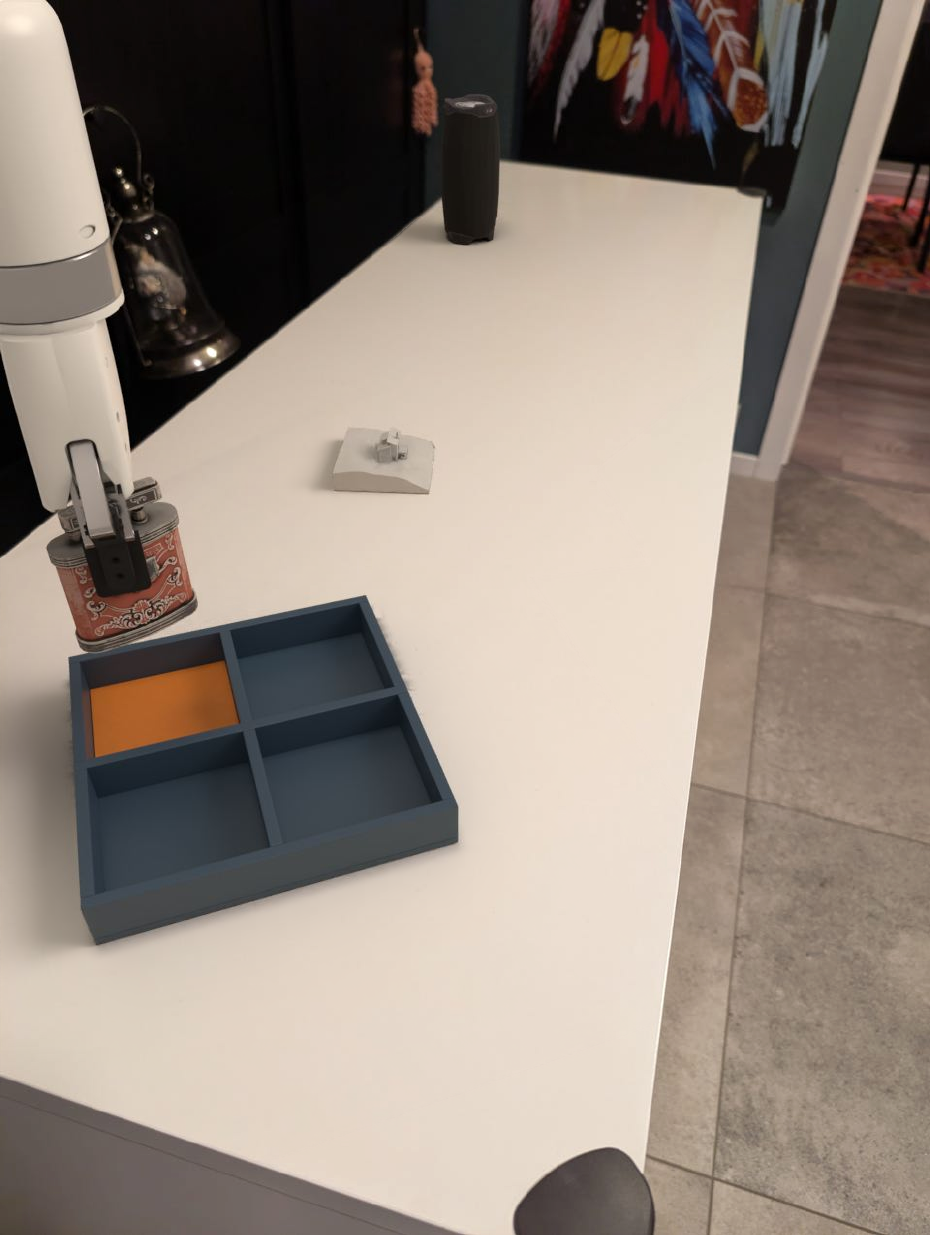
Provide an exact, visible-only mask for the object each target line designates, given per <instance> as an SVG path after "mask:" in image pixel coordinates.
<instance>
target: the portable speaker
mask: <svg viewBox="0 0 930 1235" xmlns="http://www.w3.org/2000/svg"><path fill="white" fill-rule="evenodd" d="M498 110H499V109H498V103H497V102H495V101H494V100H493V98H492V97H491V96H490V95H486V94H483V93H482V94H480V93H473V94H472V93H471V94H466V95H464V96H460V97H456V98H451V97H446V98H444V104H443V111H444V112H443V121H442V127H441V128H442V129H441V136H440V137H441V138H440V197H441V206H442V207H441V208H442V216H443V227H444V228H443V229H444V231H445V234H446V237H447V240H448V241H450V242H452V243H454V244H459V245H465V246H466V245H467V246H469V245H470V244H472V242H473V241H474V240H479V239H484V238H485V239H486V240H487V241H493V240H494V238H495V230H496V229H495V227H496V223H497V218H498V210H499V196H500V195H499V194H500V167H501V166H500V165H501V163H500V162H501V135H500V122H499V121H500V120H499V111H498Z"/></svg>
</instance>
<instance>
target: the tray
mask: <svg viewBox="0 0 930 1235" xmlns="http://www.w3.org/2000/svg"><path fill="white" fill-rule="evenodd" d="M67 661H68V677H69V678H68V679H69V696H70V697H69V700H70V718H71V720H70V721H71V737H72V738H71V739H72V759H73V776H74V777H73V781H74V782H73V783H74V798H75V799H74V800H75V802H74V803H75V820H76V842H77V860H78V862H77V863H78V880H79V881H78V882H79V883H78V884H79V901H80V902H79V903H80V912H81V914H82V917H83V919H84V921H85V923H86V925H87V927H88V930H89V932H90V934H91V937H92V939H93V941H94V944H95V945H96V946H97V945H98V946H99V945H102V944H105V943H108V942H111V941H116V940H119V939H123V938H127V937H130V936H133V935H137V934H140V933H144V932H147V931H151V930H155V929H159V928H161V927H165V926H168V925H171V924H175V923H180V922H183V921H185V920H189V919H194V918H197V917H200V916H203V915H207V914H211V913H214V912H218V911H222V910H225V909H227V908H232V907H235V906H238V905H242V904H245V903H249V902H253V901H256V900H260V899H263V898H268V897H270V896H274V895H277V894H281V893H284V892H288V891H291V890H295V889H298V888H301V887H302V888H303V887H305V886H309V885H312V884H316V883H319V882H322V881H327V880H330V879H334V878H337V877H341V876H344V875H348V874H352V873H355V872H358V871H362V870H365V869H369V868H373V867H376V866H379V865H384V864H387V863H389V862H390V863H391V862H393V861H397V860H401V859H404V858H407V857H411V856H415V855H418V854H422V853H426V852H428V851H432V850H435V849H439V848H443V847H447V846H449V845H454V844H457V843H459V804H458V802H457V800H456V798H455V795H454V792H453V791H452V789H451V788H452V787H451V786H450V784H449V782H448V778H447V777H446V774H445V773H444V770H443V767H442V765H441V763H440V761H439V759H438V756H437V754H436V752H435V749H434V747H433V745H432V743H431V740H430V738H429V736H428V733H427V731H426V729H425V727H424V724H423V722H422V720H421V718H420V715H419V713H418V711H417V708H416V706H415V703H414V701H413V699H412V697H411V695H410V692H409V690H408V688H407V686H406V683H405V681H404V678H403V676H402V674H401V672H400V669H399V668H398V665H397V662H396V661H395V657H394V655H393V653H392V651H391V648H390V647H389V644H388V643H387V640H386V637H385V635H384V633H383V630H382V628H381V626H380V624H379V621H378V619H377V617H376V615H375V612H374V610H373V607H372V605H371V603H370V602H369V599H368V596H367V595H366V594H364V595H359V596H355V597H354V596H353V597H349V598H345V599H344V598H343V599H340V600H336V601H330V602H325V603H320V604H315V605H312V606H311V605H310V606H307V607H306V606H305V607H301V608H297V609H292V610H288V611H287V610H286V611H282V612H278V613H272V614H268V615H263V616H258V617H253V618H248V619H244V620H239V621H234V622H229V623H225V624H220V625H215V626H210V627H205V628H201V629H196V630H195V629H194V630H190V631H186V632H181V633H176V634H172V635H167V636H162V637H158V638H157V637H156V638H153V639H147V640H143V641H137V642H133V643H130V644H128V645H125V646H122V647H118V648H115V649H112V650H108V651H105V652H101V653H88V652H85V653H81V654H76V655H71V656H68V658H67Z"/></svg>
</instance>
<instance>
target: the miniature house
mask: <svg viewBox="0 0 930 1235" xmlns="http://www.w3.org/2000/svg"><path fill="white" fill-rule="evenodd" d="M401 433H402V430H400V429H397V428H395V427H392V426H390V427H389V430H388V431H385V430H381V429H375V428H367V427H353V426H352V427H351V426H348V427H347V429H346V431H345V434H344V437H343V440H342V444H341V447H340V449H339V453H338V455H337V458H336V461H335V465H334V468H333V470H332V474H331V475H332V483H333V490H334V491H340V492H341V491H342V492H343V491H344V492H345V491H346V492H370V493H371V492H373V493H374V492H375V493H377V492H378V493H398V494H399V493H402V494H430V489H431V484H432V479H433V478H432V477H433V465H434V464H433V462H435V461H434V460H435V449H436V447H435V445H434V442H433V441H432V440H429V439H425V438H420V437H417V436H414V435H409V434H408V435H407V434H401Z"/></svg>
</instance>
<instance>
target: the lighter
mask: <svg viewBox="0 0 930 1235" xmlns="http://www.w3.org/2000/svg"><path fill="white" fill-rule="evenodd" d="M133 485H134V491H133V493H132V494H131V496H130V497H129V498H128V499H126V503H127V507H128V511H129V515H130V519H131V523H132V527H133V531H135V530H138V531H139V535H140V539H141V543H142V547H143V550H144V554H145V558H146V562H147V566H148V570H149V574H150V577H151V583H152V585H151V587H150V588H149V589H147V590H142V591H137V592H132V593H126V594H121V595H116V596H111V597H106V598H101V597H99V596H98V595H97V593H96V589H95V586H94V583H93V580H92V576H91V573H90V570H89V567H88V563H87V560H86V557H85V554H84V550H83V547H82V541H81V540H83V538H82V534H81V531H80V527H79V524H78V520H77V516H76V513H75V509H74V506H73V504H71V505H67V507H66V509H58V510H57V512H56V515H57V517H58V520H59V523H60V527H61V529H62V530H63V531H64V533H62V534H60V535H57V536H56V537H54V538H52V539H51V540H49V542H48V543H47V544H46V552H47V556H48V558H49V560H50V563H51V564H52V565H53V566H54V567H55V569H56V572H57V575H58V578H59V581H60V584H61V587H62V590H63V592H64V596H65V599H66V602H67V605H68V607H69V610H70V614H71V617H72V620H73V622H74V626H75V631H74V635H75V637H76V641H77V643H78V647H79V649H80V650H82V651H83V652H85V653H101V652H105V651H108V650H112V649H115V648H118V647H122V646H125V645H128V644H133V643H137V642H139V641H140V640H143V639H146V638H149V637H151V636H154V635H155V634H158V633H160V632H162V631H164V630H165V629H168V628H170V627H172V626H173V625H176V624H177V623H179V622H181V621H183V620H184V619H186V618H187V617H189V616H191V615H192V614H194V613H195V612H196V611H197V609H198V608H199V602H198V598H197V594H196V593H197V592H196V591H195V589H194V588H192V584H191V579H190V575H189V570H188V566H187V560H186V557H185V553H184V547H183V544H182V539H181V534H180V531H179V525H180V517H179V513H178V508H176V506H175V505H173V504H171V503H169V502H165V501H164V502H163V501H160V500H161V499H162V498H163V494H162V491H161V487H160V483H159V481H158V480H157V479H155V478H153V477H152V476H146V477H143V478H140V479H137V480H133ZM108 505H109V509H110V512H111V514H117V516H118V517H119V514H118V510H117V506H116V502H115V503H109V504H108ZM119 519H120V517H119Z"/></svg>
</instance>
